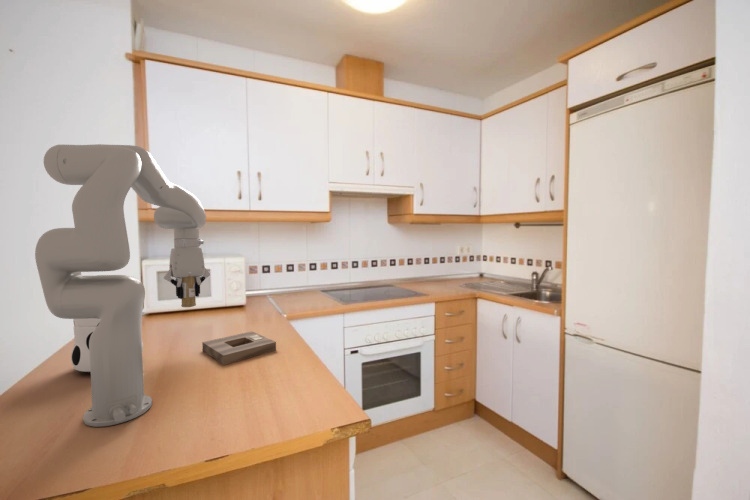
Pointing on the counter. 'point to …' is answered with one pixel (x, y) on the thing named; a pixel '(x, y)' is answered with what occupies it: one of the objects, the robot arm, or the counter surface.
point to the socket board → (238, 347)
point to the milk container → (83, 343)
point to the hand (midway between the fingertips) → (188, 296)
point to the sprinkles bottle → (188, 291)
